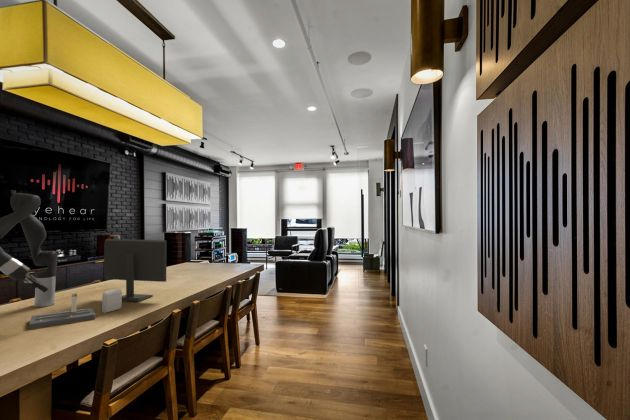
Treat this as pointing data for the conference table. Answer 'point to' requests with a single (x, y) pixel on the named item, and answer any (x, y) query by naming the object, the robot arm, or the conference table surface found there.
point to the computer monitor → (135, 263)
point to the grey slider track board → (61, 318)
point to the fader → (74, 303)
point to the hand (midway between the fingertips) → (46, 290)
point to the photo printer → (111, 300)
